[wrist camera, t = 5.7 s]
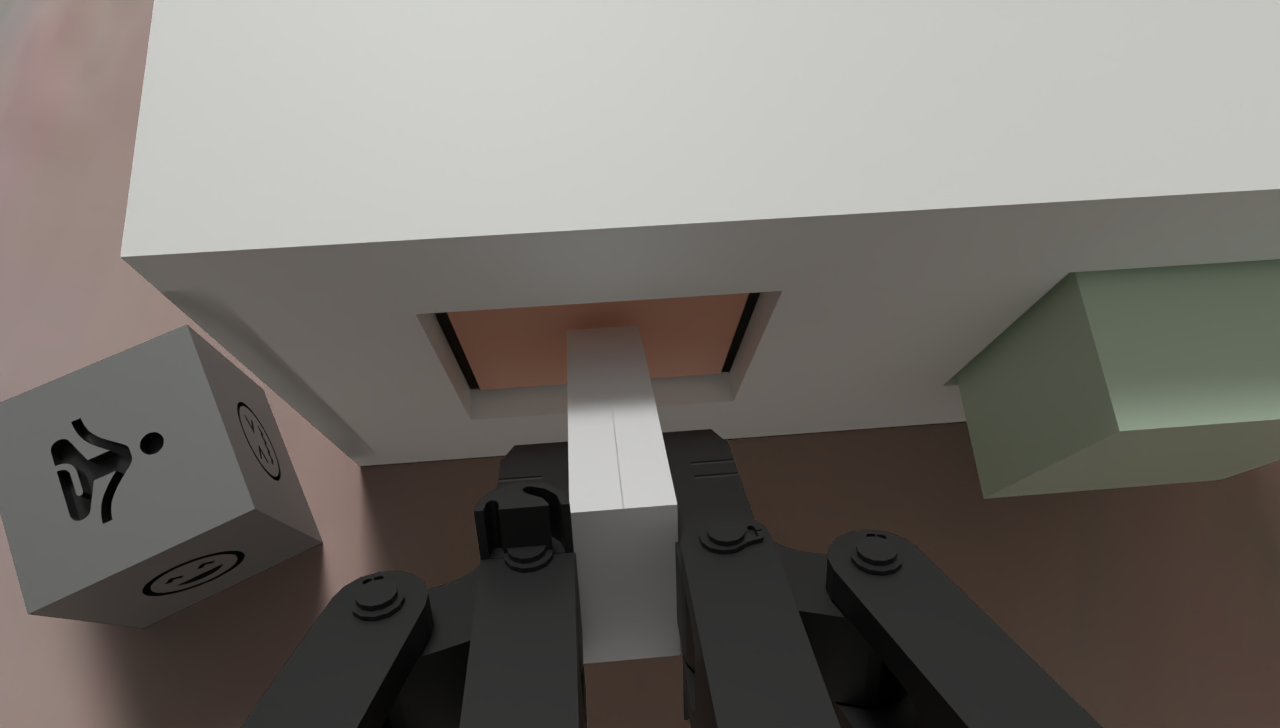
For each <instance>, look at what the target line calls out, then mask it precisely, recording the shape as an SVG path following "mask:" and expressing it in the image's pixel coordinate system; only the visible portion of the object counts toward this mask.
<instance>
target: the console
mask: <svg viewBox="0 0 1280 728" xmlns="http://www.w3.org/2000/svg"><path fill="white" fill-rule="evenodd" d="M120 257H121V258H122V259H123V260H124V261H126V262H127V263H128V264H129V265H130V266H131V267H132V268H134V269H135V270H136V271H137V272H138V273H139V274H140V275H142V276H143V277H144V278H145V279H146V280H147V281H148V282H150V283H151V284H152V285H153V286H154V287H155V288H156V289H158V290H159V291H160V292H161V293H162V294H163V295H164V296H166V297H167V298H168V299H169V300H170V301H171V302H172V303H174V304H175V305H176V306H177V307H178V308H179V309H180V310H182V311H183V312H184V313H185V314H186V315H187V316H188V317H190V318H191V319H192V320H193V321H194V322H195V323H196V324H198V325H199V326H200V327H201V328H202V329H203V330H204V331H206V332H207V333H208V334H209V335H210V336H211V337H212V338H214V339H215V340H216V341H217V342H218V343H219V344H220V345H222V346H223V347H224V348H225V349H226V350H227V351H228V352H230V353H231V354H232V355H233V356H234V357H235V358H236V359H238V360H239V361H240V362H241V363H242V364H243V365H244V366H246V367H247V368H248V369H249V370H250V371H251V372H252V373H254V374H255V375H256V376H257V377H258V378H259V379H260V380H262V381H263V382H264V383H265V384H266V385H267V386H268V387H270V388H271V389H272V390H273V391H274V392H275V393H276V394H278V395H279V396H280V397H281V398H282V399H283V400H284V401H286V402H287V403H288V404H289V405H290V406H291V407H292V408H294V409H295V410H296V411H297V412H298V413H299V414H300V415H302V416H303V417H304V418H305V419H306V420H307V421H308V422H310V423H311V424H312V425H313V426H314V427H315V428H316V429H318V430H319V431H320V432H321V433H322V434H323V435H324V436H326V437H327V438H328V439H329V440H330V441H331V442H332V443H334V444H335V445H336V446H337V447H338V448H339V449H340V450H342V451H343V452H344V453H345V454H346V455H347V456H348V457H350V458H351V459H352V460H353V461H354V462H355V463H356V464H358V465H359V466H368V465H382V464H395V463H409V462H423V461H436V460H450V459H463V458H477V457H490V456H504V455H507V454H508V452H509V451H510V450H511V449H512V448H513V446H514V445H526V444H540V443H554V442H567V441H568V401H567V384H564V385H549V386H535V387H520V388H506V389H492V390H480V387H479V385H478V383H477V381H476V378H475V376H474V374H473V371H472V369H471V367H470V365H469V362H468V360H467V358H466V355H465V353H464V351H463V348H462V346H461V344H460V342H459V339H458V337H457V335H456V332H455V330H454V328H453V326H452V323H451V321H450V319H449V316H448V314H447V312H459V311H474V310H490V309H506V308H521V307H537V306H553V305H568V304H584V303H600V302H615V301H631V300H647V299H662V298H678V297H694V296H709V295H725V294H741V293H749V295H748V298H747V301H746V304H745V307H744V309H743V312H742V315H741V318H740V320H739V323H738V326H737V329H736V332H735V334H734V337H733V340H732V343H731V346H730V348H729V351H728V354H727V357H726V359H725V362H724V365H723V368H722V371H721V373H720V374H708V375H693V376H679V377H665V378H650V380H651V384H652V389H653V394H654V398H655V403H656V408H657V412H658V417H659V422H660V426H661V431H662V433H663V432H676V431H690V430H704V429H712V430H713V431H714V432H715V433H717V434H718V435H719V436H720V437H721V438H723V439H733V438H747V437H760V436H774V435H787V434H801V433H814V432H828V431H842V430H855V429H869V428H882V427H896V426H909V425H923V424H936V423H950V422H963V421H966V417H965V412H964V408H963V403H962V399H961V394H960V390H959V385H958V381H957V376H956V373H957V372H959V371H960V370H961V369H962V368H963V367H964V366H965V365H966V364H968V363H969V362H970V361H971V360H972V359H973V358H974V357H975V356H976V355H978V354H979V353H980V352H981V351H982V350H983V349H984V348H985V347H987V346H988V345H989V344H990V343H991V342H992V341H993V340H994V339H995V338H997V337H998V336H999V335H1000V334H1001V333H1002V332H1003V331H1004V330H1006V329H1007V328H1008V327H1009V326H1010V325H1011V324H1012V323H1013V322H1014V321H1016V320H1017V319H1018V318H1019V317H1020V316H1021V315H1022V314H1023V313H1025V312H1026V311H1027V310H1028V309H1029V308H1030V307H1031V306H1032V305H1033V304H1035V303H1036V302H1037V301H1038V300H1039V299H1040V298H1041V297H1042V296H1044V295H1045V294H1046V293H1047V292H1048V291H1049V290H1050V289H1051V288H1052V287H1054V286H1055V285H1056V284H1057V283H1058V282H1059V281H1060V280H1061V279H1063V278H1064V277H1065V276H1066V275H1067V274H1068V273H1069V272H1085V271H1101V270H1116V269H1132V268H1148V267H1163V266H1179V265H1195V264H1210V263H1226V262H1242V261H1257V260H1273V259H1280V0H154V6H153V14H152V22H151V29H150V37H149V44H148V52H147V59H146V67H145V75H144V82H143V90H142V97H141V105H140V112H139V120H138V128H137V135H136V143H135V150H134V158H133V165H132V173H131V181H130V188H129V196H128V203H127V211H126V218H125V226H124V234H123V241H122V249H121V256H120Z"/></svg>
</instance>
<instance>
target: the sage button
mask: <svg viewBox="0 0 1280 728" xmlns="http://www.w3.org/2000/svg"><path fill="white" fill-rule="evenodd" d="M956 376H957V381H958V385H959V390H960V394H961V399H962V403H963V408H964V412H965V417H966V421H967V426H968V431H969V435H970V440H971V444H972V449H973V453H974V458H975V462H976V467H977V471H978V476H979V480H980V485H981V489H982V494H983V498H984V499H987V498H999V497H1012V496H1025V495H1037V494H1050V493H1062V492H1075V491H1087V490H1100V489H1112V488H1125V487H1138V486H1150V485H1163V484H1175V483H1188V482H1200V481H1213V480H1222V479H1225V478H1228V477H1231V476H1234V475H1237V474H1240V473H1243V472H1246V471H1249V470H1252V469H1255V468H1258V467H1261V466H1264V465H1267V464H1270V463H1273V462H1276V461H1279V460H1280V259H1273V260H1257V261H1242V262H1226V263H1210V264H1195V265H1179V266H1163V267H1148V268H1132V269H1116V270H1101V271H1085V272H1069V273H1068V274H1067V275H1066V276H1065V277H1064V278H1063V279H1061V280H1060V281H1059V282H1058V283H1057V284H1056V285H1055V286H1054V287H1052V288H1051V289H1050V290H1049V291H1048V292H1047V293H1046V294H1045V295H1044V296H1042V297H1041V298H1040V299H1039V300H1038V301H1037V302H1036V303H1035V304H1033V305H1032V306H1031V307H1030V308H1029V309H1028V310H1027V311H1026V312H1025V313H1023V314H1022V315H1021V316H1020V317H1019V318H1018V319H1017V320H1016V321H1014V322H1013V323H1012V324H1011V325H1010V326H1009V327H1008V328H1007V329H1006V330H1004V331H1003V332H1002V333H1001V334H1000V335H999V336H998V337H997V338H995V339H994V340H993V341H992V342H991V343H990V344H989V345H988V346H987V347H985V348H984V349H983V350H982V351H981V352H980V353H979V354H978V355H976V356H975V357H974V358H973V359H972V360H971V361H970V362H969V363H968V364H966V365H965V366H964V367H963V368H962V369H961V370H960V371H959V372H957V373H956Z"/></svg>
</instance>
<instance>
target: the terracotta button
mask: <svg viewBox="0 0 1280 728" xmlns="http://www.w3.org/2000/svg"><path fill="white" fill-rule="evenodd" d="M748 295H749V293H741V294H725V295H709V296H694V297H678V298H662V299H647V300H631V301H615V302H600V303H584V304H568V305H553V306H537V307H521V308H506V309H490V310H474V311H459V312H447V314H448V316H449V319H450V321H451V323H452V326H453V328H454V330H455V332H456V335H457V337H458V339H459V342H460V344H461V346H462V348H463V351H464V353H465V355H466V358H467V360H468V362H469V365H470V367H471V369H472V371H473V374H474V376H475V378H476V381H477V383H478V385H479V387H480V390H492V389H506V388H520V387H535V386H549V385H564V384H567V339H566V330H575V329H590V328H605V327H621V326H636V325H639V329H640V333H641V338H642V342H643V347H644V352H645V356H646V361H647V366H648V370H649V375H650V378H665V377H679V376H693V375H708V374H720V373H721V371H722V368H723V365H724V362H725V359H726V357H727V354H728V351H729V348H730V346H731V343H732V340H733V337H734V334H735V332H736V329H737V326H738V323H739V320H740V318H741V315H742V312H743V309H744V307H745V304H746V301H747V298H748Z"/></svg>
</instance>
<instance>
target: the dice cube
mask: <svg viewBox="0 0 1280 728" xmlns="http://www.w3.org/2000/svg"><path fill="white" fill-rule="evenodd" d="M0 514H1V517H2V521H3V525H4V528H5V532H6V536H7V539H8V543H9V547H10V550H11V554H12V558H13V561H14V565H15V569H16V572H17V576H18V580H19V583H20V587H21V591H22V594H23V598H24V602H25V605H26V609H27V613H28V614H31V615H39V616H47V617H55V618H63V619H72V620H80V621H88V622H96V623H104V624H112V625H120V626H128V627H137V628H145V627H147V626H150V625H152V624H154V623H156V622H158V621H160V620H162V619H164V618H166V617H168V616H170V615H173V614H175V613H177V612H179V611H181V610H183V609H185V608H187V607H189V606H191V605H193V604H196V603H198V602H200V601H202V600H204V599H206V598H208V597H210V596H212V595H214V594H216V593H219V592H221V591H223V590H225V589H227V588H229V587H231V586H233V585H235V584H237V583H239V582H242V581H244V580H246V579H248V578H250V577H252V576H254V575H256V574H258V573H260V572H262V571H264V570H267V569H269V568H271V567H273V566H275V565H277V564H279V563H281V562H283V561H285V560H287V559H290V558H292V557H294V556H296V555H298V554H300V553H302V552H304V551H306V550H308V549H310V548H313V547H315V546H317V545H319V544H321V543H323V542H322V539H321V536H320V534H319V531H318V529H317V526H316V524H315V521H314V519H313V516H312V513H311V511H310V508H309V506H308V503H307V501H306V498H305V496H304V493H303V490H302V488H301V485H300V483H299V480H298V478H297V475H296V472H295V470H294V467H293V465H292V462H291V460H290V457H289V455H288V452H287V449H286V447H285V444H284V442H283V439H282V437H281V434H280V432H279V429H278V426H277V424H276V421H275V419H274V416H273V414H272V411H271V409H270V406H269V403H268V401H267V398H266V396H265V393H264V391H263V389H262V388H261V387H260V386H258V385H257V384H256V383H255V382H254V381H252V380H251V379H250V378H249V377H248V376H247V375H245V374H244V373H243V372H242V371H241V370H240V369H238V368H237V367H236V366H235V365H234V364H233V363H231V362H230V361H229V360H228V359H227V358H226V357H224V356H223V355H222V354H221V353H220V352H218V351H217V350H216V349H215V348H214V347H213V346H211V345H210V344H209V343H208V342H207V341H206V340H204V339H203V338H202V337H201V336H200V335H199V334H197V333H196V332H195V331H194V330H193V329H192V328H190V327H189V326H188V325H185V326H182V327H180V328H178V329H175V330H173V331H170V332H168V333H166V334H163V335H161V336H158V337H156V338H154V339H151V340H149V341H146V342H144V343H142V344H139V345H137V346H134V347H132V348H130V349H127V350H125V351H122V352H120V353H118V354H115V355H113V356H110V357H108V358H106V359H103V360H101V361H99V362H96V363H94V364H91V365H89V366H87V367H84V368H82V369H79V370H77V371H75V372H72V373H70V374H67V375H65V376H63V377H60V378H58V379H55V380H53V381H51V382H48V383H46V384H43V385H41V386H39V387H36V388H34V389H31V390H29V391H27V392H24V393H22V394H20V395H17V396H15V397H12V398H10V399H8V400H5V401H3V402H0Z"/></svg>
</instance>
